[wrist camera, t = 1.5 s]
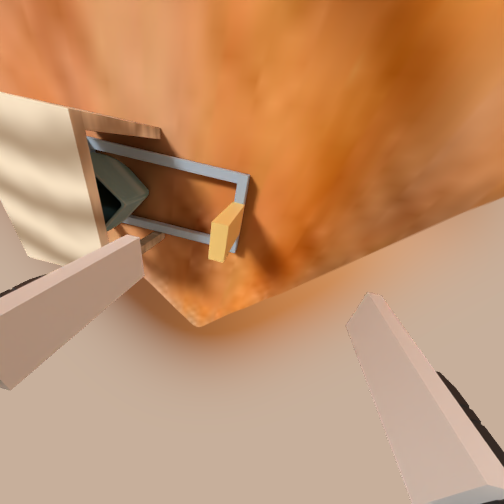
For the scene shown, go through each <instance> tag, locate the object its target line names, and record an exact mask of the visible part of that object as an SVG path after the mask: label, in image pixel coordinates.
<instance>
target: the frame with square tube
mask: <svg viewBox="0 0 504 504" xmlns="http://www.w3.org/2000/svg"><path fill="white" fill-rule="evenodd" d="M86 137H87V141H88V146H89V151H90V152H94V153H96V151H95V149H96V150H100V151H104V152H108V153H113V154H117V155H121V156H125V157H129V158H133V159H138V160H142V161H146V162H150V163H154V164H158V165H163V166H167V167H171V168H175V169H179V170H183V171H188V172H192V173H196V174H200V175H204V176H208V177H213V178H217V179H221V180H225V181H229V182H233V183H237V188H236V194H235V201H234V202H232V203H231V204H230V205H229V206H228V207H227V208H226V209H225V210H224V211H223V212H221V213H220V214H219V215H218V216H217V217H216V218H215V219H214V220H213V221H212V223H211V233H210V234H206V233H202V232H198V231H194V230H190V229H186V228H182V227H178V226H174V225H170V224H166V223H162V222H158V221H154V220H150V219H146V218H142V217H138V216H134V215H130V216H129V217H128V218H127V219H126V220H125V221H123V222H122V223H126V224H130V225H134V226H138V227H142V228H146V229H150V230H154V231H158V232H162V233H166V234H170V235H174V236H178V237H182V238H186V239H189V240H193V241H197V242H201V243H205V244H209V254H208V259H210V260H214V261H218V262H222V263H224V261H225V259H226V257H227V255H228V253H229V252H232V253H235V251H236V249H237V246H238V240H239V235H240V229H241V224H242V218H243V213H244V207H245V202H246V197H247V191H248V186H249V180H250V175H248V174H244V173H240V172H236V171H232V170H227V169H223V168H219V167H215V166H211V165H206V164H202V163H198V162H194V161H190V160H185V159H181V158H177V157H173V156H169V155H164V154H160V153H156V152H152V151H148V150H143V149H139V148H135V147H131V146H127V145H122V144H118V143H114V142H110V141H105V140H101V139H97V138H93V137H89V136H86Z"/></svg>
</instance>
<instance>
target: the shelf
mask: <svg viewBox="0 0 504 504" xmlns="http://www.w3.org/2000/svg"><path fill="white" fill-rule="evenodd" d="M85 130H89V131H97V132H105V133H113V134H122V135H130V136H138V137H146V138H154V139H161V138H160V128H158V127H154V126H150V125H145V124H141V123H137V122H132V121H128V120H124V119H119V118H115V117H111V116H107V115H102V114H98V113H94V112H89V111H85V110H81V109H76V108H72V107H67V106H63V105H58V104H53V103H49V102H44V101H40V100H35V99H31V98H26V97H22V96H17V95H13V94H8V93H4V92H0V200H1V201H2V204H3V206H4V208H5V210H6V212H7V214H8V216H9V218H10V220H11V222H12V224H13V226H14V228H15V230H16V233H17V235H18V236H19V238H20V240H21V243H22V245H23V247H24V249H25V251H26V253H27V255H28V257H32V258H35V259H39V260H43V261H46V262H50V263H54V264H58V265H62V266H65V265H67V264H69V263H71V262H73V261H75V260H77V259H79V258H81V257H83V256H85V255H87V254H89V253H91V252H93V251H95V250H97V249H99V248H101V247H103V246H105V245H107V244H109V239H108V235H107V230H106V225H105V221H104V216H103V211H102V207H101V202H100V197H99V193H98V188H97V183H96V179H95V174H94V169H93V165H92V160H91V155H90V151H89V146H88V141H87V137H86V132H85ZM164 238H165V233H162V232H158V231H154V232H153V233H151V234H149V235H148V236H146V237H144V238H143V239H141V240H140V244H141V252H142V254H143V253H145V252H146V251H147V250H149V249H150V248H152V247H153V246H154V245H156V244H157V243H159V242H160V241H161V240H163V239H164Z"/></svg>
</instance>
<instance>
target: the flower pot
mask: <svg viewBox="0 0 504 504" xmlns="http://www.w3.org/2000/svg"><path fill="white" fill-rule="evenodd" d="M90 155H91V160H92V165H93V169H94V174H95V179H96V183H97V188H98V193H99V197H100V202H101V207H102V211H103V216H104V221H105V225H106V230H107V231H109V230H111V229H112V228H114V227H116V226H117V225H119V224H121V223H122V222H123V221H125V220H126V219H127V218H128V217H129V216H130V215H131V214H132V212H133V211H134V210H135V209H136V208H137V207H138V206H139V205H140V204H141V203H142V202H143V201H144V200H145V199H146V198H147V196H148V195H149V190H148V189H147V187H146V186H145V185H144V184H143V183H142V182H141V181H140V180H139V179H138V178H137V176H136V175H135V174H134V173H133V172H132V171H131V170H130V169H129V168H128V167H127V166H126V165H124V164H123V163H122V162H120V161H118V160H117V159H115V158H113V157H110V156H108V155H104V154H100V153H94V152H90Z"/></svg>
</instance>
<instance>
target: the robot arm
mask: <svg viewBox="0 0 504 504" xmlns="http://www.w3.org/2000/svg"><path fill="white" fill-rule="evenodd" d="M143 276H145V275H144V267H143V260H142V252H141V244H140V237H136V236H131V235H125V236H123V237H121V238H119V239H117V240H115V241H113V242H111V243H109V244H107V245H105V246H103V247H101V248H99V249H97V250H95V251H93V252H91V253H89V254H87V255H85V256H83V257H81V258H79V259H77V260H75V261H73V262H71V263H69V264H67V265H65V266H63V267H61V268H59V269H57V270H55V271H53V272H51V273H49V274H45V275H42V276H39V277H36V278H32V279H29V280H27V281H25V282H23V283H21V284H19V285H17V286H15V287H13V289H11V290H7V291H5V292H3V293H1V294H0V388H4V389H7V390H12V389H13V388H14V387H15V386H16V385H17V384H19V383H20V382H21V381H22V380H23V379H24V378H26V377H27V376H28V375H29V374H30V373H31V372H32V371H34V370H35V369H36V368H37V367H38V366H39V365H41V364H42V363H43V362H44V361H45V360H47V359H48V358H49V357H50V356H51V355H52V354H53V353H55V352H56V351H57V350H58V349H59V348H60V347H62V346H63V345H64V344H65V343H66V342H68V341H69V340H70V339H71V338H72V337H73V336H75V335H76V334H77V333H78V332H79V331H80V330H82V329H83V328H84V327H85V326H86V325H87V324H89V323H90V322H91V321H92V320H93V319H94V318H96V317H97V316H98V315H99V314H100V313H101V312H102V311H104V310H105V309H106V308H107V307H108V306H110V305H111V304H112V303H113V302H114V301H115V300H117V299H118V298H119V297H120V296H121V295H122V294H124V293H125V292H126V291H127V290H128V289H129V288H131V287H132V286H133V285H134V284H135V283H136V282H137V281H139V280H140V279H141V278H142V277H143ZM346 328H347V331H348V333H349V336H350V339H351V341H352V344H353V347H354V349H355V352H356V355H357V358H358V360H359V363H360V366H361V368H362V371H363V374H364V376H365V379H366V382H367V384H368V387H369V390H370V392H371V395H372V398H373V400H374V403H375V406H376V409H377V411H378V414H379V417H380V419H381V422H382V425H383V428H384V430H385V433H386V436H387V438H388V441H389V444H390V446H391V449H392V452H393V454H394V457H395V460H396V463H397V465H398V468H399V471H400V473H401V476H402V478H403V481H404V484H405V487H406V490H407V492H408V495H409V498H410V500H411V503H412V504H504V452H503V451H502V449H501V448H500V446H499V445H498V444H497V442H496V441H495V440H494V439H493V437H492V436H491V434H490V433H489V432H488V430H487V429H486V428H485V427H484V426H482V425H481V421H480V420H479V418H478V417H477V416H476V414H475V413H474V412H473V410H471V409H469V405H468V404H467V402H466V401H465V400H464V398H463V397H462V396H461V395H460V393H459V392H458V390H457V389H456V388H455V387H454V386H453V385H452V384H451V383H450V382H449V381H448V380H447V379H446V378H445V377H444V376H443V375H442V374H441V373H440V372H436V371H435V370H434V369H433V367H432V366H431V364H430V363H429V362H428V360H427V359H426V357H425V356H424V355H423V353H422V352H421V350H420V349H419V347H418V346H417V345H416V343H415V342H414V340H413V339H412V338H411V336H410V335H409V333H408V332H407V331H406V329H405V328H404V326H403V325H402V324H401V322H400V321H399V319H398V318H397V317H396V315H395V314H394V312H393V311H392V309H391V308H390V307H389V305H388V304H387V302H386V301H385V300H384V298H383V297H382V296H381V295H378V294H374V293H369V292H367V293H366V295H365V296H364V298H363V299H362V301H361V302H360V304H359V305H358V307H357V309H356V310H355V312H354V313H353V315H352V317H351V318H350V320H349V321H348V323H347V324H346Z"/></svg>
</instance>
